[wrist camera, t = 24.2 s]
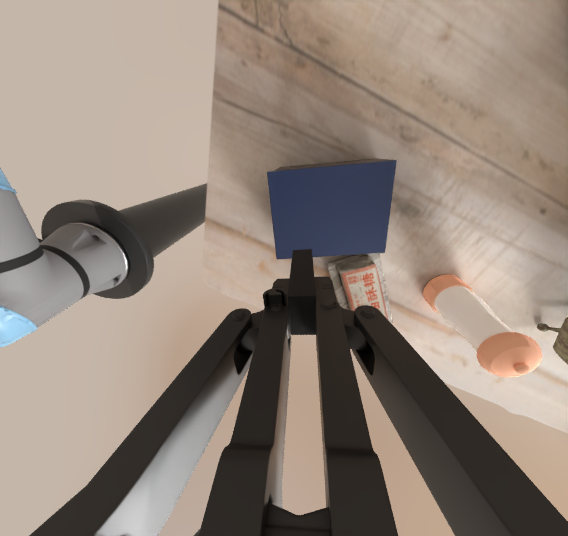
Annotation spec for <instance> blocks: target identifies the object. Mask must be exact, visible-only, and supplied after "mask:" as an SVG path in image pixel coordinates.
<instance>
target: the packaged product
mask: <svg viewBox="0 0 568 536" xmlns="http://www.w3.org/2000/svg"><path fill="white" fill-rule="evenodd" d="M328 271H329V274H330V277H331V280H332V281H333V286H334V290H335V293H336V296H337V299H338V303H339V305H340V306H341V307H342V308H344V309H347V310H352V311H355V309H356V308H357V307H358V306H362V305H368V306H373V307H375V308H377V309H378V310H380V311H381V313H382V314H383V315H384V316H385V317H386V318H387V319H388V320H389V322H390V323H393V321H392V314H391V310H390V305H389V299H388V294H387V289H386V285H385V279H384V274H383V269H382V264H381V259H380V253H370V254H359V255H355V256H352V257H348V258H345V259H341V260H338V261H334V262H331V263H328Z"/></svg>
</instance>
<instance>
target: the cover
mask: <svg viewBox="0 0 568 536" xmlns="http://www.w3.org/2000/svg"><path fill="white" fill-rule="evenodd" d="M395 168H396V160H389V161H378V162H367V163H356V164H345V165H334V166H323V167H312V168H301V169H291V170H280V171H269V172H267V176H268V185H269V194H270V203H271V212H272V221H273V230H274V239H275V248H276V257H277V259H290V258H292V254H293V250H301V249H312V257H322V256H338V255H354V254H370V253H385V248H386V240H387V232H388V224H389V216H390V208H391V200H392V192H393V184H394V176H395Z"/></svg>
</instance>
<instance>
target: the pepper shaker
mask: <svg viewBox="0 0 568 536" xmlns="http://www.w3.org/2000/svg"><path fill="white" fill-rule="evenodd" d="M423 296H424V298H425V300H426V301H427V302H428V304H429V305H430V306H431V307H432V308H433V310H435V311H436V312H437V313H439V314H440V315H441V316H442V317H443V319H444V320H445V321H446V322H447V323H448V324H449V325H451V326H452V327H453V328H454V329H455V330H457V331H458V332H459V333H460V334H461V335H462V336H463V337H464V338H465V339H466V340H467V341H468V342H469V343H470V345H471V346H472V347H473V348H474V349H475V350H476V351H477V359H478V361H479V363H480V365H481V366H482V367H483V368H484V369H486V370H487V371H489V372H490V373H492V374H495V375H497V376H501V377H517V376H521V375H524V374H527V373H528V372H530V371H532V370H534V369H535V368H536V367H537V366H538V365H539V364H540V362H541V360H542V352H541V349H540V346H539V345H538V344H537V342H536V341H535V340H533V339H532V338H531V337H528V336H526V335H523V334H520V333H516V332H514V331H512V330H511V329H510V328H509V327H508V326H507V325H506V324H504V323H503V322H502V321H501V320H500V319H499V318H497V316H496V315H495V314H494V313H493V312H492V310H491V309H490V308H489V307H488V306H487V304H486V303H485V302H484V301H483V300H482V299H481V298H479V297H478V296H477V295H475V294H474V293H473V291H472V289H471V288H470V287H469V286H468V285H467V284H465V283H464V282H463V281H462V280H460V279H459V278H458V277H457V276H454V275H446V274H445V275H441V276H437V277H435V278H433V279H432V280H431V281H429V282H428V283H427V285H426V286H425V288H424V291H423Z"/></svg>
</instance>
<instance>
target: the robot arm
mask: <svg viewBox="0 0 568 536" xmlns="http://www.w3.org/2000/svg"><path fill="white" fill-rule="evenodd" d="M15 194H16V191H15V189H13V188H12V187H11V185H10V184H9V182H8V180H7V178H6V177H5V175H4V173H3V171H2V170H1V168H0V347H4V346H7V345H9V344H11V343H13V342H15V341H17V340H18V339H20V338H22V337H24V336H25V335H27V334H29V333H31V332H34V331H35V330H36V329H37V328H38V327H39V326H41V325H42V324H44V323H46V322H47V321H49V320H50V319H51V318H53V317H55V316H56V315H57V314H59V313H61V312H62V311H64V310H65V309H67V308H68V307H70V306H71V305H73V304H74V303H76V302H77V301H79V300H80V299H82V298H83V297H85V296H86V295H89V294H93V293H97V292H100V291H104V290H107V289H110V288H113V287H115V286H117V285H119V284H120V283H122V282H123V281H124V280H125V279H126V278H127V277H128V275H129V272H130V260H129V256H128V254H127V252H126V250H125V248H124V247H123V245H122V244H121V243H120V241H119V240H118V239H117V238H116V237H115V236H114V235H112V234H111V233H110V232H109V231H107V230H106V229H104V228H102V227H100V226H98V225H96V224H93V223H89V222H83V221H78V222H73V223H69V224H66V225H64V226H62V227H60V228H58V229H57V230H56V231H54V232H53V233H52V234H51V235H49V236H48V237H47V238H46V239H44V240H41V239H38V238H37V237H36V235H35V233H34V231H33V229H32V227H31V225H30V223H29V221H28V219H27V217H26V215H25V213H24V211H23V209H22V207H21V205H20V203H19V201H18V199H17V197H16V195H15ZM263 299H264V306H265V308H264V310H262V311H260V312H257V313H253V314H251V312H250V311H249V310H248V309H236V310H234V311H232V312H231V313H230V314H229V315H228V316H227V317H226V318H225V319H224V320H223V322H222V323H221V324H220V325H219V326H218V328H217V329H216V330H215V331H214V333H213V334H212V335H211V336H210V337H209V339H208V340H207V341H206V342H205V343H204V345H203V346H202V347H201V348H200V350H199V351H198V352H197V353H196V354H195V355H194V357H193V358H192V359H191V360H190V362H189V363H188V364H187V365H186V366H185V368H184V369H183V370H182V371H181V372H180V374H179V375H178V376H177V377H176V378H175V380H174V381H173V382H172V383H171V384H170V386H169V387H168V388H167V389H166V391H165V392H164V393H163V394H162V395H161V396H160V398H159V399H158V400H157V401H156V403H155V404H154V405H153V406H152V407H151V409H150V410H149V411H148V412H147V413H146V415H145V416H144V417H143V418H142V419H141V421H140V422H139V423H138V424H137V425H136V427H135V428H134V429H133V430H132V431H131V433H130V434H129V435H128V436H127V438H126V439H125V440H124V441H123V442H122V444H121V445H120V446H119V447H118V448H117V450H116V451H115V452H114V453H113V454H112V456H111V457H110V458H109V459H108V460H107V462H106V463H105V464H104V465H103V466H102V468H101V469H100V470H99V471H98V472H97V474H96V475H95V476H94V477H93V478H92V480H91V481H90V482H89V483H88V485H87V486H86V487H85V488H83V489H82V490H81V491H80V492H79V493H78V494H77V495H75V496H74V497H73V498H72V499H71V500H70V501H68V502H67V503H66V504H65V505H64V506H63V507H62V508H61V509H59V510H58V511H57V512H56V513H55V514H54V515H52V516H51V517H50V518H49V519H48V520H47V521H46V522H44V524H42V525H41V526H40V527H39V528H38V529H37V530H35V531H34V532H33V533H32V534H31V535H29V536H158V535H159V533H160V531H161V530H162V528H163V526H164V524H165V523H166V521H167V519H168V517H169V516H170V514H171V512H172V510H173V508H174V506H175V505H176V503H177V500H178V499H179V497H180V495H181V493H182V492H183V490H184V487H185V486H186V484H187V482H188V480H189V478H190V477H191V475H192V473H193V471H194V469H195V467H196V465H197V463H198V462H199V460H200V458H201V456H202V454H203V452H204V450H205V448H206V447H207V445H208V443H209V441H210V439H211V437H212V436H213V434H214V432H215V430H216V428H217V426H218V424H219V422H220V421H221V419H222V417H223V415H224V413H225V411H226V410H227V408H228V406H229V404H230V402H231V400H232V398H233V396H234V394H235V393H236V391H237V389H238V387H239V385H240V383H241V381H242V380H243V378H244V376H245V374H246V372H247V370H248V368H249V371H248V376H247V380H246V383H245V388H244V392H243V395H242V399H241V404H240V407H239V411H238V415H237V420H236V423H235V427H234V431H233V435H232V439H231V442H230V444H229V445H228V446H227V447H225V448H224V450H223V452H222V454H221V457H220V460H219V463H218V467H217V471H216V474H215V478H214V482H213V485H212V489H211V492H210V496H209V500H208V503H207V507H206V511H205V514H204V518H203V522H202V525H201V529H200V530H199V531H198V532H197V533H196V534H195V535H194V536H398V533H397V529H396V525H395V521H394V517H393V513H392V509H391V504H390V500H389V496H388V493H387V488H386V484H385V480H384V476H383V472H382V468H381V464H380V461H379V458H378V456H377V454H376V453H375V452H374V451H373V448H372V444H371V440H370V436H369V431H368V427H367V423H366V418H365V414H364V409H363V405H362V401H361V396H360V392H359V388H358V383H357V379H356V375H355V370H354V366H353V361H352V357H351V353H350V349H352V351H353V353H354V355H355V357H356V359H357V361H358V362H359V364H360V366H361V368H362V370H363V371H364V373H365V375H366V377H367V379H368V380H369V382H370V384H371V386H372V388H373V389H374V391H375V393H376V394H377V397H378V398H379V400H380V402H381V404H382V405H383V407H384V409H385V411H386V413H387V414H388V416H389V418H390V420H391V422H392V423H393V425H394V427H395V429H396V430H397V432H398V434H399V436H400V438H401V439H402V441H403V443H404V445H405V447H406V449H407V450H408V452H409V454H410V456H411V457H412V459H413V461H414V463H415V465H416V466H417V468H418V470H419V472H420V474H421V475H422V477H423V479H424V481H425V482H426V484H427V486H428V488H429V490H430V491H431V493H432V495H433V497H434V498H435V500H436V502H437V504H438V506H439V508H440V509H441V511H442V513H443V515H444V517H445V518H446V520H447V522H448V524H449V526H450V527H451V529H452V531H453V533H454V534H455V536H568V521H566V519H565V518H564V517H563V516H562V515H561V514H560V513H559V512H558V510H557V509H556V508H555V507H554V506H553V505H552V504H551V503H550V501H549V500H548V499H547V498H546V497H545V496H544V495H543V494H542V492H541V491H540V490H539V489H538V488H537V487H536V486H535V485H534V483H533V482H532V481H531V480H530V479H529V478H528V477H527V476H526V474H525V473H524V472H523V471H522V470H521V469H520V468H519V467H518V465H516V463H515V462H514V461H513V460H512V459H511V458H510V456H509V455H508V454H507V453H506V452H505V451H504V450H503V449H502V448H501V446H500V445H499V444H498V443H497V442H496V441H495V440H494V439H493V437H492V436H491V435H490V434H489V433H488V432H487V431H486V430H485V429H484V427H483V426H482V425H481V424H480V423H479V422H478V420H477V419H476V418H475V417H474V416H473V415H472V414H471V413H470V412H469V411H468V409H467V408H466V407H465V406H464V405H463V404H462V403H461V401H460V400H459V399H458V398H457V397H456V396H455V395H454V394H453V392H452V391H451V390H450V389H449V388H448V387H447V386H446V385H445V383H444V382H443V381H442V380H441V379H440V378H439V377H438V376H437V374H436V373H435V372H434V371H433V370H432V369H431V368H430V367H429V365H428V364H427V363H426V362H425V361H424V360H423V359H422V358H421V356H420V355H419V354H418V353H417V352H416V351H415V350H414V349H413V347H412V346H411V345H410V344H409V343H408V342H407V341H406V340H405V338H404V337H403V336H402V335H401V334H400V333H399V332H398V331H397V329H396V328H395V327H394V326H393V325H392V324H391V323H390V322H389V320H388V319H387V318H386V317H385V316H384V315H383V314H382V313H381V311H380V310H378V309H377V308H375V307H373V306H368V305H362V306H358V307H357V308H356V309H355V311H352V310H347V309H344V308H342V307H341V306H340V305H339V303H338V302H337V300H336V295H335V290H334V286H333V281H332V280H331V279H330V278H329V277H314V270H313V257H312V249H301V250H293V254H292V263H291V272H290V278H289V279H277V280H276V281H275V282H274V283H273V288H272V289H270V290H267V291H266V292H264V294H263ZM290 334H291V335H316V344H317V358H318V375H319V392H320V407H321V424H322V441H323V455H324V456H323V457H324V474H325V489H326V490H325V491H326V508H324V509H320V510H317V511H314V512H311V513H307V514H304V515H295V514H293V513H291V512H289V511H287V510H284V509H282V475H283V459H284V444H285V429H286V413H287V398H288V397H287V396H288V381H289V366H290V352H291V335H290Z"/></svg>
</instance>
